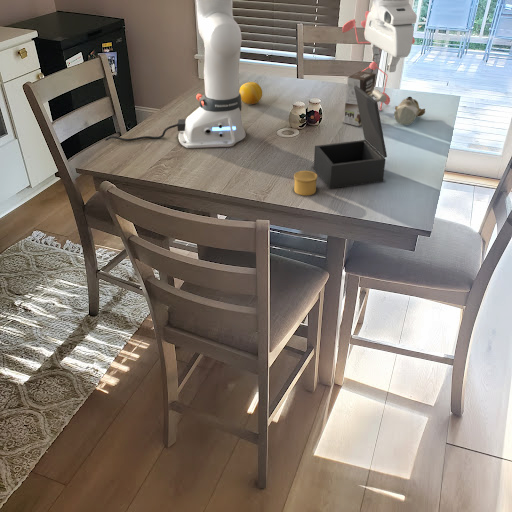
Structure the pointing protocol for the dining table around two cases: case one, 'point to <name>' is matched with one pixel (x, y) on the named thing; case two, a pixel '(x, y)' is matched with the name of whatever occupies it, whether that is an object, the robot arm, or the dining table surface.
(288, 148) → the dining table surface
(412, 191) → the dining table surface
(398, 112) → the ceramic sculpture
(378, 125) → the lid
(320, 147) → the black lidded box
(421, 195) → the dining table surface
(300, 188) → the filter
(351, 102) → the coffee box
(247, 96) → the fruit
